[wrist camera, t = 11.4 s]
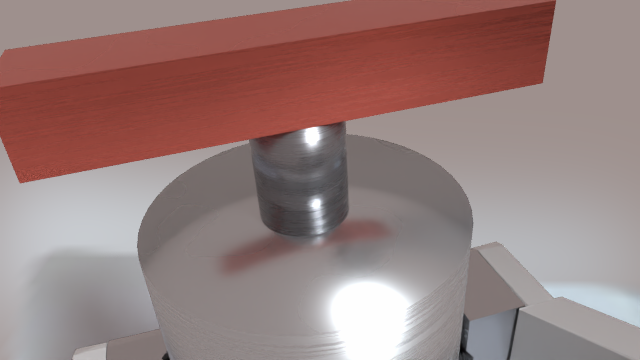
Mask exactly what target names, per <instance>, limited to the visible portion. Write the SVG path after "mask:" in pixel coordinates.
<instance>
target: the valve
mask: <svg viewBox="0 0 640 360" xmlns="http://www.w3.org/2000/svg"><path fill="white" fill-rule="evenodd" d="M555 4H556V0H351V1H344V2H338V3H330V4H323V5H316V6H309V7H302V8H295V9H288V10H282V11H274V12H267V13H260V14H253V15H246V16H239V17H233V18H225V19H219V20H212V21H204V22H197V23H190V24H183V25H176V26H169V27H163V28H155V29H148V30H142V31H134V32H127V33H120V34H114V35H106V36H99V37H92V38H85V39H78V40H71V41H65V42H57V43H50V44H43V45H36V46H29V47H22V48H15V49H8V50H5V51H4V53H3V54H2V56H1V57H0V137H1V139H2V142H3V144H4V147H5V149H6V151H7V154H8V156H9V159H10V161H11V163H12V166H13V168H14V170H15V173H16V175H17V178H18V180H19V182H20V183H24V182H29V181H34V180H40V179H45V178H50V177H56V176H61V175H66V174H71V173H76V172H82V171H87V170H92V169H97V168H103V167H107V166H113V165H118V164H123V163H128V162H134V161H139V160H144V159H149V158H154V157H160V156H165V155H170V154H176V153H181V152H186V151H191V150H196V149H201V148H206V147H212V146H217V145H222V144H228V143H233V142H238V141H243V140H248V139H249V143H248V144H245V145H242V146H239V147H235V148H232V149H230V150H227V151H224V152H222V153H219V154H217V155H215V156H213V157H210V158H208V159H206V160H205V161H202V162H201V163H199V164H197V165H195V166H193V167H192V168H190V169H189V170H187V171H186V172H184V173H183V174H181V175H180V176H179V177H177V178H176V179H175V180H174V181H172V182H171V183H170V184H169V185H168V186H167V187H166V188H165V189H164V190H163V191H162V192H161V193H160V194H159V195H158V196H157V197H156V199H155V200H154V201H153V203H152V204H151V205H150V207H149V208H148V210H147V212H146V214H145V216H144V218H143V220H142V223H141V226H140V229H139V233H138V243H137V248H138V255H139V261H140V264H141V268H142V271H143V274H144V277H145V280H146V284H147V287H148V290H149V293H150V297H151V300H152V303H153V306H154V309H155V313H156V316H157V319H158V322H159V326H160V329H161V332H162V335H163V339H164V342H165V345H166V348H167V351H168V355H169V358H170V360H459V351H460V342H461V332H462V323H463V314H464V304H465V295H466V286H467V277H468V267H469V258H470V249H471V240H472V230H473V217H472V210H471V206H470V204H469V201H468V198H467V196H466V194H465V193H464V191H463V189H462V187H461V186H460V185H459V184H458V182H457V181H456V180H455V179H454V178H453V176H452V175H450V174H449V173H448V172H447V171H446V170H445V169H443V168H442V167H441V166H440V165H438V164H437V163H435V162H434V161H432V160H431V159H429V158H427V157H425V156H424V155H422V154H419V153H418V152H415V151H413V150H411V149H408V148H406V147H403V146H400V145H397V144H394V143H391V142H388V141H384V140H379V139H375V138H370V137H364V136H358V135H348V134H346V123H345V121H348V120H353V119H358V118H363V117H369V116H374V115H378V114H384V113H389V112H395V111H400V110H405V109H410V108H415V107H420V106H426V105H430V104H436V103H442V102H447V101H452V100H457V99H462V98H468V97H473V96H478V95H483V94H489V93H494V92H499V91H504V90H509V89H514V88H520V87H525V86H530V85H536V84H540V83H543V77H544V71H545V65H546V59H547V53H548V47H549V41H550V34H551V28H552V22H553V16H554V10H555Z"/></svg>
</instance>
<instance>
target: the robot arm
mask: <svg viewBox="0 0 640 360" xmlns="http://www.w3.org/2000/svg"><path fill="white" fill-rule="evenodd" d="M72 360H170V358H169V355H168V351H167V348H166V345H165V342H164V339H163V335H162V332H161V329H158V330H154V331H149V332H145V333H141V334H136V335H132V336H128V337H123V338H119V339H115V340H111V341H109V342H105V343H101V344H96V345H92V346H88V347H83V348H79V349H76V350H75V352H74V355H73V357H72ZM459 360H640V328H639V327H636V326H634V325H631V324H629V323H626V322H624V321H621V320H619V319H616V318H614V317H611V316H609V315H606V314H604V313H601V312H599V311H596V310H594V309H591V308H589V307H586V306H584V305H581V304H579V303H576V302H574V301H571V300H569V299H566V298H564V297H558V298H553V297H552V296H551V295H550V294H549V293H548V292H547V291H546V290H545V289H544V288H543V286H542V285H541V284H540V283H539V282H538V281H537V280H536V279H535V278H534V277H533V276H532V275H531V274H530V273H529V272H528V271H527V270H526V269H525V268H524V267H523V266H522V265H521V264H520V263H519V261H517V259H515V258H514V256H513V255H512V254H511V253H510V252H509V251H508V250H507V249H506V248H505V247H504V246H503V245H502V244H500V243H498V242H493V243H489V244H486V245H482V246H478V247H474V248H471V249H470V258H469V267H468V277H467V286H466V295H465V304H464V314H463V323H462V332H461V342H460V351H459Z"/></svg>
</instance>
